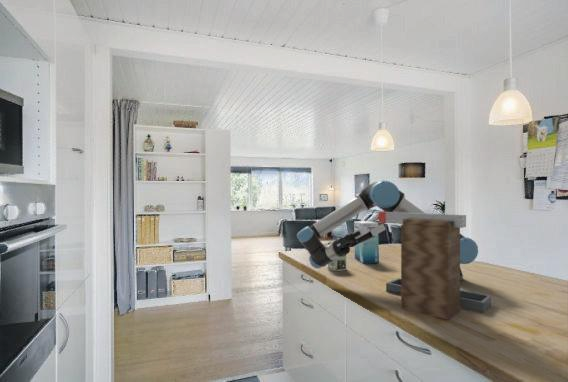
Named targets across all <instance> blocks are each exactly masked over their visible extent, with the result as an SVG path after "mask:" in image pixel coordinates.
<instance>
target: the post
mask: <svg viewBox="0 0 568 382" xmlns="http://www.w3.org/2000/svg"><path fill="white" fill-rule="evenodd" d="M400 229H401V230H400V233H401V234H400V235H401V237H400V239H401V240H400V245H401V246H400V247H401V248H400V249H401V250H400V251H401V252H400V253H401V255H400V256H401V260H400V267H401V268H400V277H401V278H400V279H401V297H400V298H401V299H400V305H401V307H400V309H403V310H408V311H412V312H416V313H419V314H423V315H427V316H432V317H435V318H439V319H443V320H447V321H449V320H450V319H452V318H453V317H454V316H456V315H457V314H458V313H459V312H460V311H461V308H460V290H461V281H460V268H461V264H460V234H461V228H458V227H452V221H437V220H419V219H403V224H401V225H400Z"/></svg>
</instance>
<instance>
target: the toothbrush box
mask: <svg viewBox="0 0 568 382" xmlns="http://www.w3.org/2000/svg"><path fill="white" fill-rule="evenodd" d="M364 226H367V228H368V230H369V231H370V229H371V230H372V229H373V228H375V227H377V226H379V222H374V221H370V220H357V221H356V220H355V221H353V229H354V230H353V233H354V232H355V231H357V230H359V229H360V228H362V227H364ZM379 239H380V238H379V233H378V234H377V235H375V237H372V238H370V239H368V240H366V241H363V242H361V243H359V244H357V245H355V246H354V259H355V260H357V261H359V262H360V263H362V264H380V247H379V243H380V242H379Z"/></svg>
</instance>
